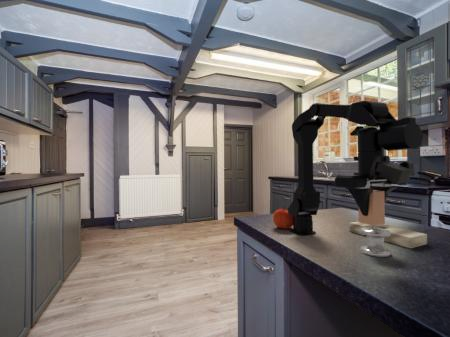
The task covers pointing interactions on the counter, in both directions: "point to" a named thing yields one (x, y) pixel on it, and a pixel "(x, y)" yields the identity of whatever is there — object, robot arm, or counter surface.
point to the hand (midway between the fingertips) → (371, 214)
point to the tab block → (374, 209)
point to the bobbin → (375, 242)
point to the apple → (282, 219)
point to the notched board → (394, 234)
